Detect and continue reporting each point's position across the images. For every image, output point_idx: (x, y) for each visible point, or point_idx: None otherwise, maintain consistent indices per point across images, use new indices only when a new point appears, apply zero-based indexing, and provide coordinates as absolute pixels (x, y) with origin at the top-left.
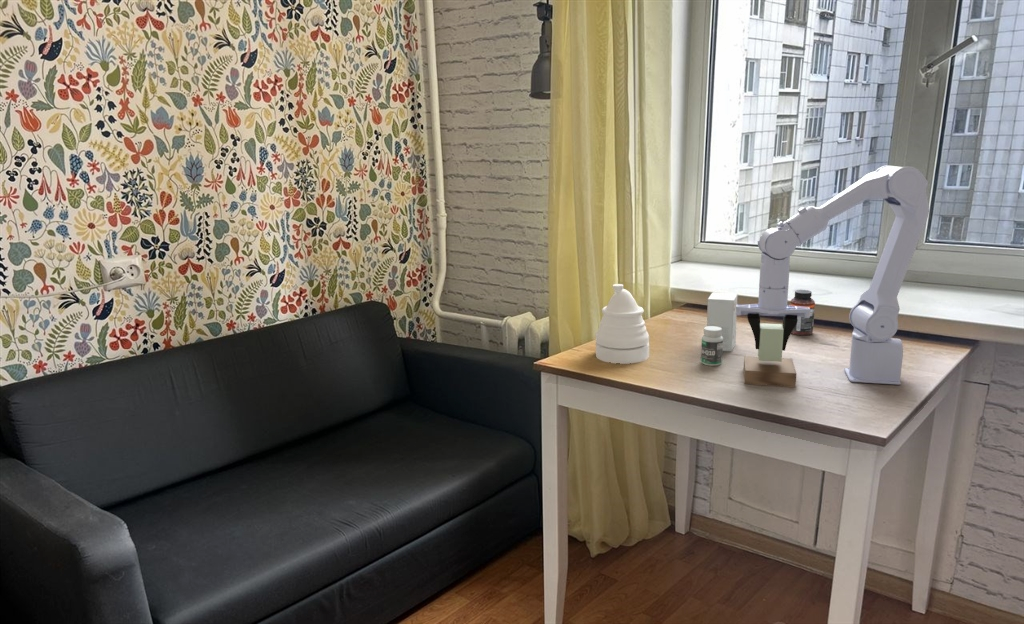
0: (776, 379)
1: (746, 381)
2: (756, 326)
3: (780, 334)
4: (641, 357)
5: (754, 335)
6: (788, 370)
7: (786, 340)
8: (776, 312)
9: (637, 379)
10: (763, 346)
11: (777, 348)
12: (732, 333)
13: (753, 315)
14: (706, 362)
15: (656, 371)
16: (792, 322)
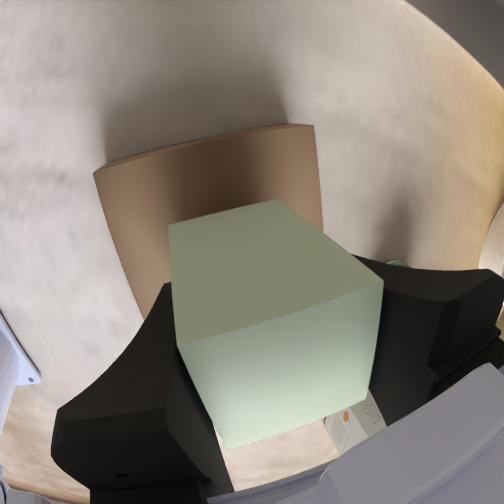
0: (176, 146)
1: (287, 124)
2: (420, 285)
3: (198, 308)
4: (498, 227)
5: (376, 262)
6: (132, 199)
7: (153, 313)
8: (408, 469)
9: (494, 104)
10: (288, 229)
11: (199, 246)
12: (357, 417)
13: (480, 364)
14: (403, 263)
15: (478, 167)
16: (79, 417)
